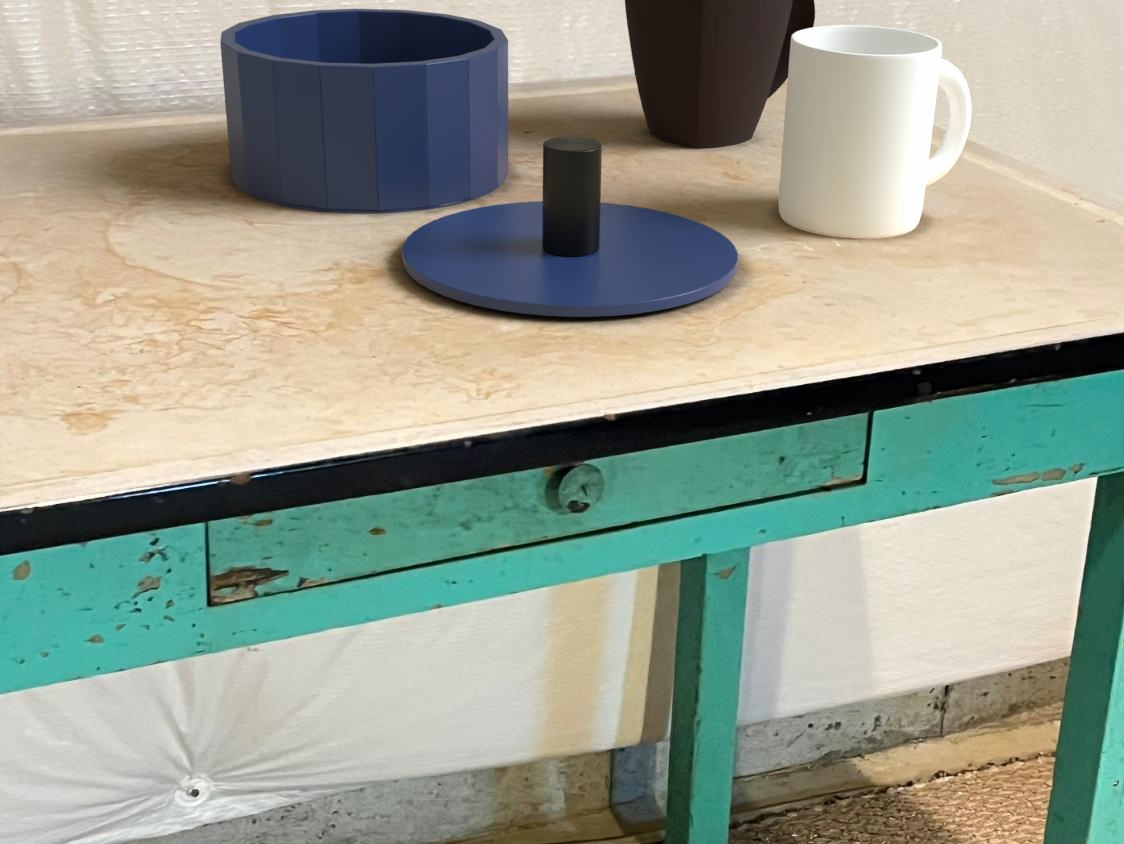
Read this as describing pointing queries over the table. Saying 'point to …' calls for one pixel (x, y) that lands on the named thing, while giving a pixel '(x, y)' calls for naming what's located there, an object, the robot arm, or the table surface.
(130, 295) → the table surface
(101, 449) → the table surface
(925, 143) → the mug
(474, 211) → the lid
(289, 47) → the pot
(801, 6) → the mug
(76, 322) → the table surface
